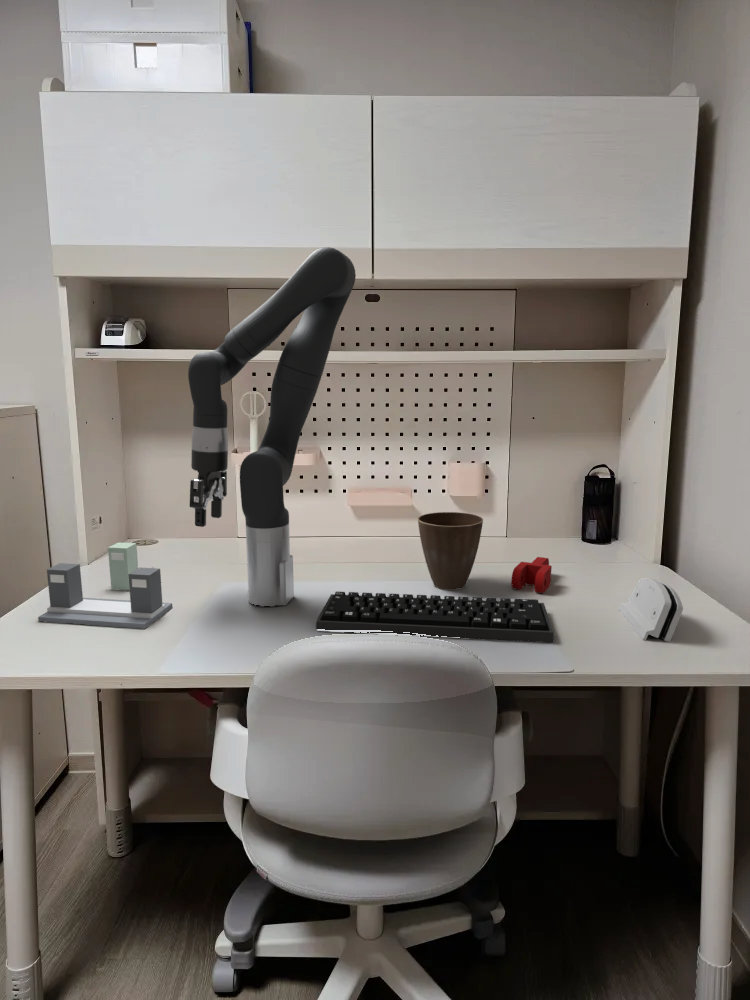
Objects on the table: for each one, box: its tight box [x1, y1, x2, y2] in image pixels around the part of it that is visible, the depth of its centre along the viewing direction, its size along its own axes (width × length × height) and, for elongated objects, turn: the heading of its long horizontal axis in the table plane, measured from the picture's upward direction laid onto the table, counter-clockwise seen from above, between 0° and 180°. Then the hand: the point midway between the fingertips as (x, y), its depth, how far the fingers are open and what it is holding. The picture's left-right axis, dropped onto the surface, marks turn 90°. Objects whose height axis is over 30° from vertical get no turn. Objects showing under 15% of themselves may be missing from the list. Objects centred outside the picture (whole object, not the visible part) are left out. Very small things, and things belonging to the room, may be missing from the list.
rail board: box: [37, 562, 173, 630], centre depth 141 cm, size 23×12×10 cm, turn 80°
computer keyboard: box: [315, 591, 555, 644], centre depth 138 cm, size 45×16×4 cm, turn 83°
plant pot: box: [417, 511, 484, 591], centre depth 159 cm, size 15×15×16 cm
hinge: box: [618, 577, 684, 642], centre depth 136 cm, size 17×5×10 cm, turn 177°
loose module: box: [107, 542, 139, 591], centre depth 158 cm, size 4×5×10 cm
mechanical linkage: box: [510, 556, 552, 594], centre depth 162 cm, size 16×7×5 cm, turn 153°
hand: (208, 521), depth 149 cm, fingers open, 8 cm apart
